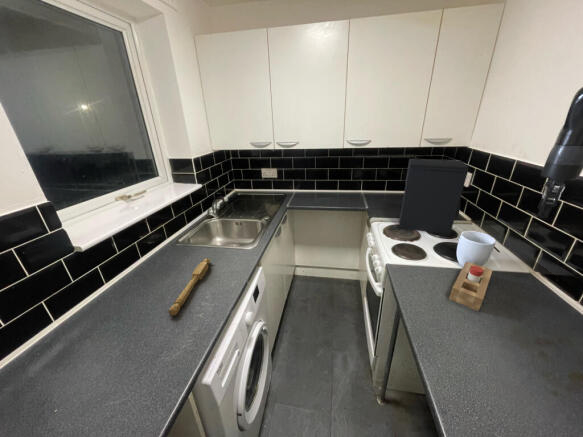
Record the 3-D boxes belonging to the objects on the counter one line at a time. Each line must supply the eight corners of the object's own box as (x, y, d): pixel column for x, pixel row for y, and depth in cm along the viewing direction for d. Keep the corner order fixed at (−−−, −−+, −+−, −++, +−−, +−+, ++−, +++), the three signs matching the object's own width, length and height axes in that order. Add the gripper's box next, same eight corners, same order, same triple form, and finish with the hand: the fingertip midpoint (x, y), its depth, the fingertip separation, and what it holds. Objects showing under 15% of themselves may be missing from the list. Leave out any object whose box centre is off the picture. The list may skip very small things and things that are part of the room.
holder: (488, 280, 86) (492, 269, 84) (478, 311, 73) (483, 299, 71) (462, 271, 91) (466, 261, 89) (448, 298, 78) (452, 287, 76)
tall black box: (452, 221, 132) (470, 159, 118) (459, 236, 116) (480, 167, 102) (399, 214, 143) (409, 157, 129) (399, 228, 127) (410, 164, 112)
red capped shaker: (476, 289, 82) (484, 268, 78) (474, 294, 80) (482, 273, 76) (465, 284, 84) (472, 264, 80) (462, 289, 82) (470, 269, 78)
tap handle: (166, 309, 75) (203, 257, 102) (169, 316, 76) (205, 262, 103) (175, 309, 74) (210, 257, 102) (177, 316, 76) (211, 262, 103)
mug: (464, 251, 104) (473, 225, 98) (494, 263, 95) (505, 235, 90) (447, 262, 96) (455, 235, 91) (477, 276, 88) (488, 247, 83)
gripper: (588, 167, 58) (560, 224, 65) (583, 158, 67) (558, 209, 74) (546, 163, 63) (524, 217, 70) (546, 156, 72) (526, 204, 79)
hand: (542, 213), depth 72 cm, fingers open, 8 cm apart
